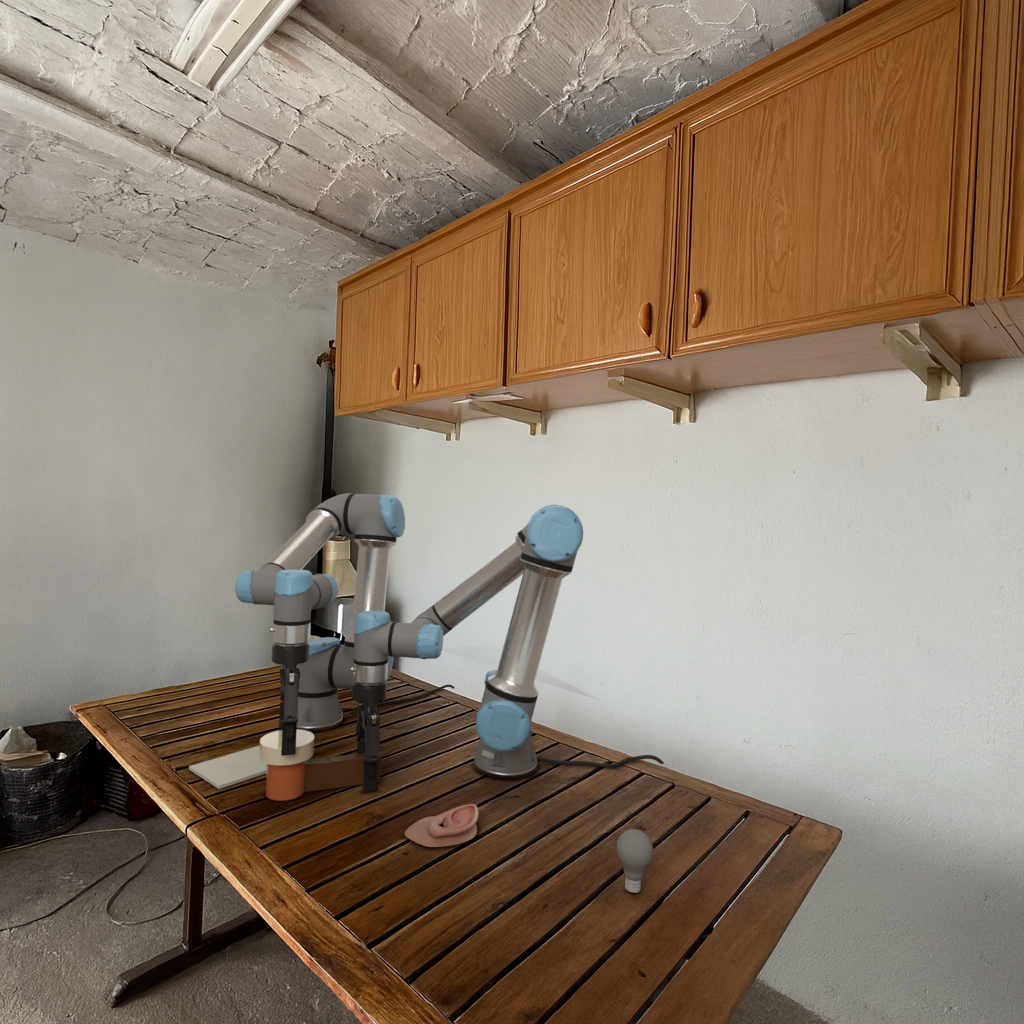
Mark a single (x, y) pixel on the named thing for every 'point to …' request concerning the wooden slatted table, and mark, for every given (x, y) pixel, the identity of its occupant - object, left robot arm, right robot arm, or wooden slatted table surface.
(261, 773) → the grey mat
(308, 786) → the orange handled cylinder
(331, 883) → the wooden slatted table surface
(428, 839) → the anatomical model
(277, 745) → the cap
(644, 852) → the light bulb
